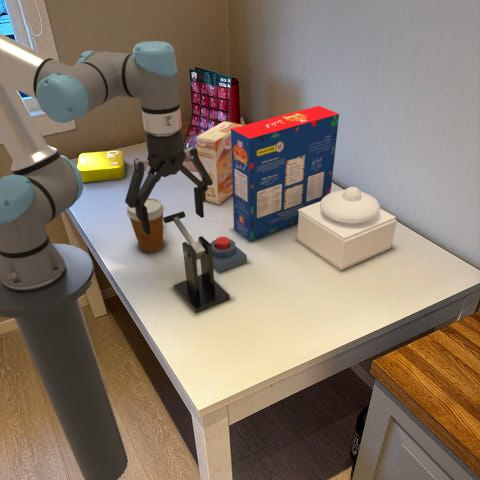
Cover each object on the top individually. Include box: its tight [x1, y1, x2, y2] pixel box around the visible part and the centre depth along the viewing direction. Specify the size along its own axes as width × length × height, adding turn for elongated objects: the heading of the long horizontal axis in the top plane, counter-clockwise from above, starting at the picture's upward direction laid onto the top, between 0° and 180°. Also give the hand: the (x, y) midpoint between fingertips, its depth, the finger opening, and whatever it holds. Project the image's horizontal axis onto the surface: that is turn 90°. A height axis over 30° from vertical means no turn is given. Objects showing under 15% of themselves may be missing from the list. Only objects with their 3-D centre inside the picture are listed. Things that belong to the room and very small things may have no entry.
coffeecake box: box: [195, 120, 244, 205], centre depth 147 cm, size 15×7×20 cm, turn 148°
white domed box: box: [296, 186, 398, 271], centre depth 124 cm, size 18×18×16 cm
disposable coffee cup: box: [126, 197, 165, 253], centre depth 126 cm, size 10×10×12 cm
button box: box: [209, 238, 248, 273], centre depth 124 cm, size 10×8×4 cm
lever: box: [163, 210, 205, 261], centre depth 108 cm, size 13×5×2 cm, turn 32°
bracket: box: [173, 235, 231, 314], centre depth 109 cm, size 11×9×14 cm
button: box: [214, 236, 230, 250], centre depth 122 cm, size 4×4×2 cm
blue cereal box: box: [231, 105, 340, 243], centre depth 130 cm, size 28×8×28 cm, turn 124°
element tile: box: [76, 149, 126, 183], centre depth 165 cm, size 15×15×5 cm
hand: (173, 223), depth 112 cm, fingers open, 13 cm apart
